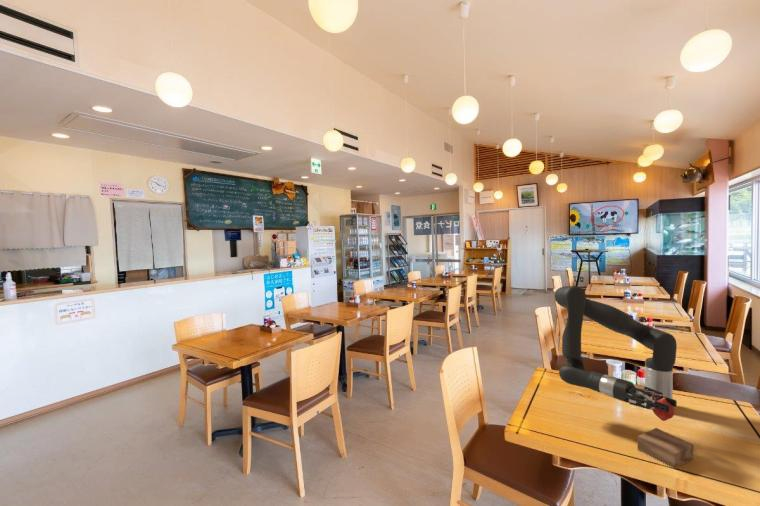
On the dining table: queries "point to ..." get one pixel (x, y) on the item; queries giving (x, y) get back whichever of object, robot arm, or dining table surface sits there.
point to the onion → (663, 414)
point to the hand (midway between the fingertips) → (672, 406)
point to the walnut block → (665, 447)
